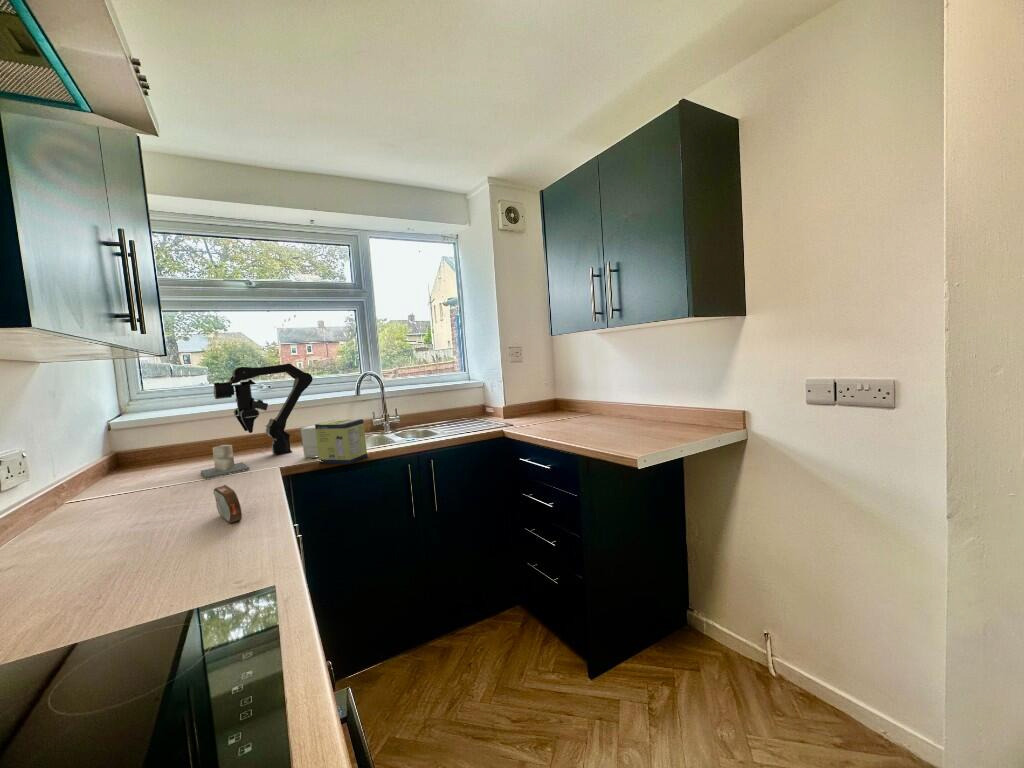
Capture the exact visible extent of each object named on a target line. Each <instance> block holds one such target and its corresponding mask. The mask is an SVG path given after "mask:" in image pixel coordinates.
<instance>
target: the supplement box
mask: <svg viewBox="0 0 1024 768" xmlns="http://www.w3.org/2000/svg"><path fill="white" fill-rule="evenodd" d="M315 425H316V424H314V425H309V426H305V427H302V428H300V434H301V435H300V436H301V443H302V448H303V450H302V451H303V456H304V457H311V458H315V457H314V456H319V455H318V446H317V438H316V430H315ZM304 457H303V458H304Z"/></svg>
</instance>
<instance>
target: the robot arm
mask: <svg viewBox="0 0 1024 768" xmlns="http://www.w3.org/2000/svg"><path fill="white" fill-rule="evenodd" d="M231 373H232V374H231V376H230V378H229V379H228V381H227V382H226V381H225V382H214V383H213V396H214V399H215V400H221V399H228V398H229V399H230V398H232V397H233V396H234V395H235V402H236V405H237V407H236V408H234V410H233V415H234V417H235V418H236V419H237V421H238V423H239V424H240V426H241V427H242V428H243V430H244V432H248V433H249V434H253V430H254V424H255V420H256V419H257V418H259V416H260V412H259V410H261V411H267V409H268V406H269V403H268V402H264V401H263V400H262V399H257V400H255V398H254V397H253V396H252V387H251V386H253V385H256V384H257V383H256V382H255V381H254V380H252V378H256V377H260V376H267V375H274V374H275V375H276V374H282V373H286V374H287V375H289V376H290V377H291V378H292V379H294V380H293V383H292V384H293V385H292V389H291V390H290V393H289V394H288V396H287V398H286V400H285V401H284V403H283V405H282V407H281V409H280V410H279V412H278V414H277V415H276V417H275V418H274V419H273V418H270V419H269V421H268V423H267V424H266V425H265V428H266V429H265V433H266V434H267V436H269V437H271V439H272V440H271V441H272V443H271V452H272V454H273V453H274V455H275V454H276V456H279V455H283V454H288V453H292V452H293V450H292V449H291V444H290V442H291V441H290V437H291V435H290V433H288V432H287V431H285V429H286V426H287V421H288V419H289V416H290V415H291V413H292V412H293V410H294V408H295V406H296V404H297V403H298V400H299V398H300V397H301V395H302V394H303V393H304V391H305V390H307V388H309V386H310V384H312V382H313V376H312V375H311V373H308V372H304V371H303V370H301V369H300V368H298V367H297V366H295V365H294V364H292V363H288V362H287V363H283V364H276V365H267V366H259V367H256V366H255V367H253V366H252V367H251V366H237V367H235V368H234V369H233V370H232V372H231Z"/></svg>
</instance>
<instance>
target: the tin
mask: <svg viewBox="0 0 1024 768" xmlns="http://www.w3.org/2000/svg"><path fill="white" fill-rule="evenodd" d="M213 495H214V498H215V502H216V503H215V504H216V510H217V511H218V514H219V515H220V517H221V518H222V519H223V520H225V521H226V522H227V523H228V524H232V523H236V522H238V521H242V518H243V514H242V508H241V503H240V500H239V497H238V496H237V492H235V490H234V489H233V488H231V487H230V486H228V485H227V484H223V485H222V486H218V487H215V488H214V489H213Z"/></svg>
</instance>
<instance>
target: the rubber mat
mask: <svg viewBox="0 0 1024 768" xmlns="http://www.w3.org/2000/svg"><path fill="white" fill-rule="evenodd" d="M234 464H235V467H234V468H231V469H228V470H225V471H215V467H211V468H207V469H201V470H200V473H201V475H202V474H203V475H202V476H203V477H204V479H205V478H209V479H212V478H211V477H214V478H216V477H215V476H219V477H221V476H220V475H223V476H225V475H224V474H228V475H230V474H229V473H233V474H235V473H234V472H237V473H239V472H238V471H242V472H244V471H243V470H247V471H249V470H248V469H250V466H248V465H247V464H246V463H244V462H243V461H241V462H236V463H235V462H234ZM250 470H251V469H250Z"/></svg>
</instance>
